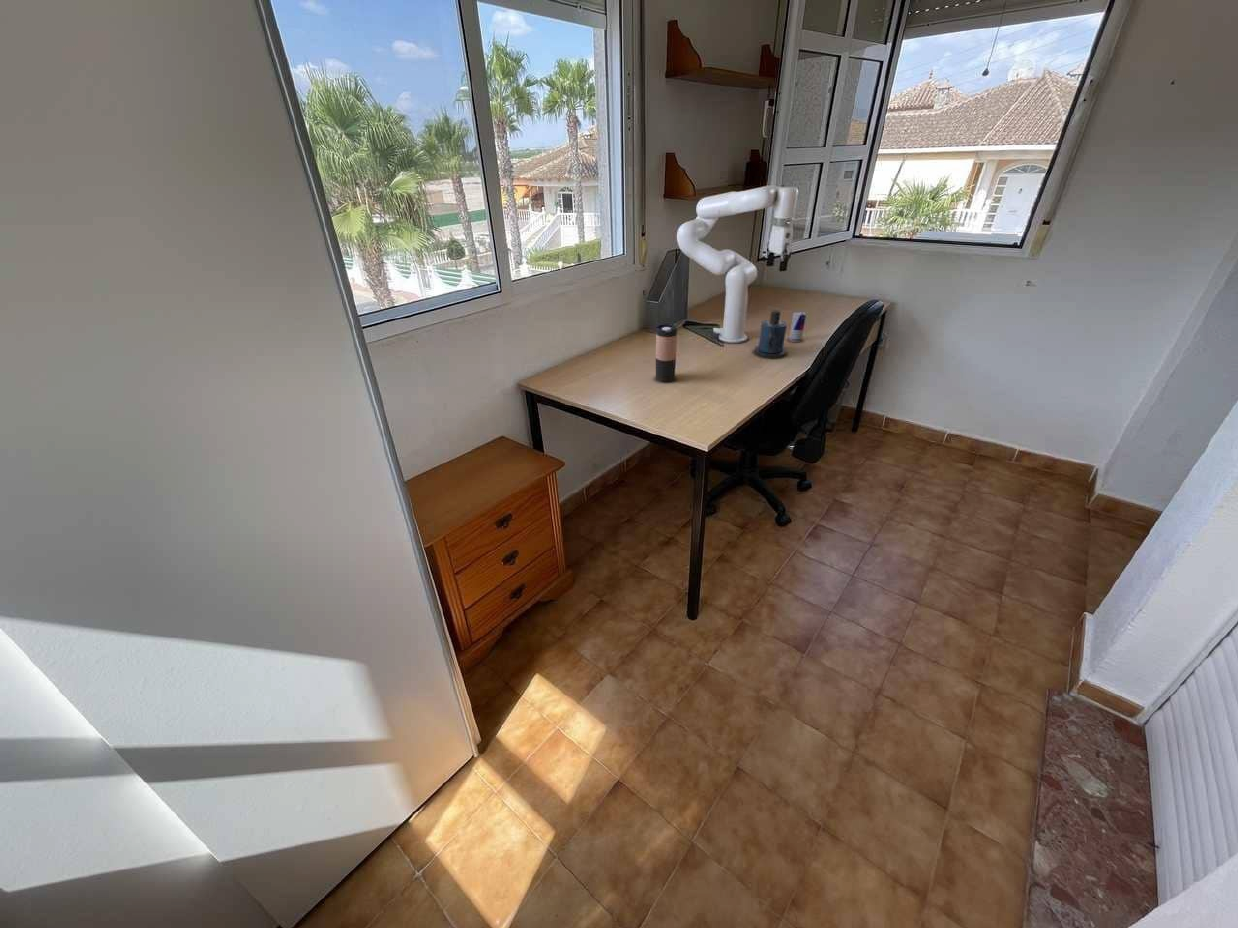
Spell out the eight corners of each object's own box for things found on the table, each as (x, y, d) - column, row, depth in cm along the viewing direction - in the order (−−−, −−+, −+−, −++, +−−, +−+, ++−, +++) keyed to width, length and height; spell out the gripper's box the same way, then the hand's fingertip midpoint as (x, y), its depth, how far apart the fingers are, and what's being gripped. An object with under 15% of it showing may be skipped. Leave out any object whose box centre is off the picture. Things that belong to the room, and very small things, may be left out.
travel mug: (662, 373, 204) (664, 322, 193) (679, 378, 200) (681, 326, 189) (651, 379, 199) (652, 328, 188) (667, 384, 195) (669, 332, 184)
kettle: (760, 342, 228) (765, 305, 219) (784, 344, 225) (790, 307, 216) (756, 354, 215) (760, 315, 207) (781, 356, 212) (787, 317, 204)
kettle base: (752, 356, 218) (752, 353, 217) (756, 346, 228) (756, 343, 227) (784, 360, 214) (785, 356, 213) (787, 349, 224) (787, 346, 223)
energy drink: (801, 342, 231) (806, 315, 225) (789, 341, 232) (793, 315, 226) (800, 338, 236) (805, 312, 230) (788, 338, 237) (792, 311, 230)
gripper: (804, 225, 198) (796, 272, 207) (779, 219, 212) (772, 263, 221) (786, 226, 196) (779, 273, 205) (763, 220, 210) (757, 264, 219)
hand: (775, 268), depth 213 cm, fingers open, 9 cm apart
